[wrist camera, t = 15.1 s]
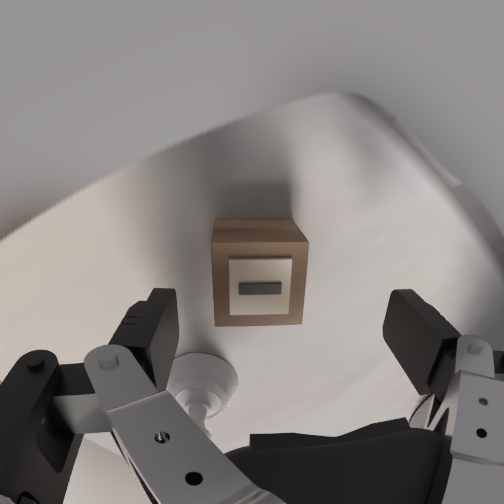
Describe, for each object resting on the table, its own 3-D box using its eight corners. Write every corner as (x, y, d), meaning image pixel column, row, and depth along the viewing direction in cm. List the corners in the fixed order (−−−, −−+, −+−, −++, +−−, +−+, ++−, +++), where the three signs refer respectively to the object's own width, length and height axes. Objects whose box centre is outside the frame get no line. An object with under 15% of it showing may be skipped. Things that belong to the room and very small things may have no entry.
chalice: (195, 320, 18) (159, 659, 1) (274, 377, 20) (320, 643, 3) (132, 380, 20) (71, 619, 3) (205, 425, 22) (200, 641, 5)
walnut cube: (288, 286, 18) (302, 327, 14) (217, 287, 18) (214, 329, 14) (291, 218, 17) (310, 244, 13) (216, 218, 16) (210, 244, 13)
